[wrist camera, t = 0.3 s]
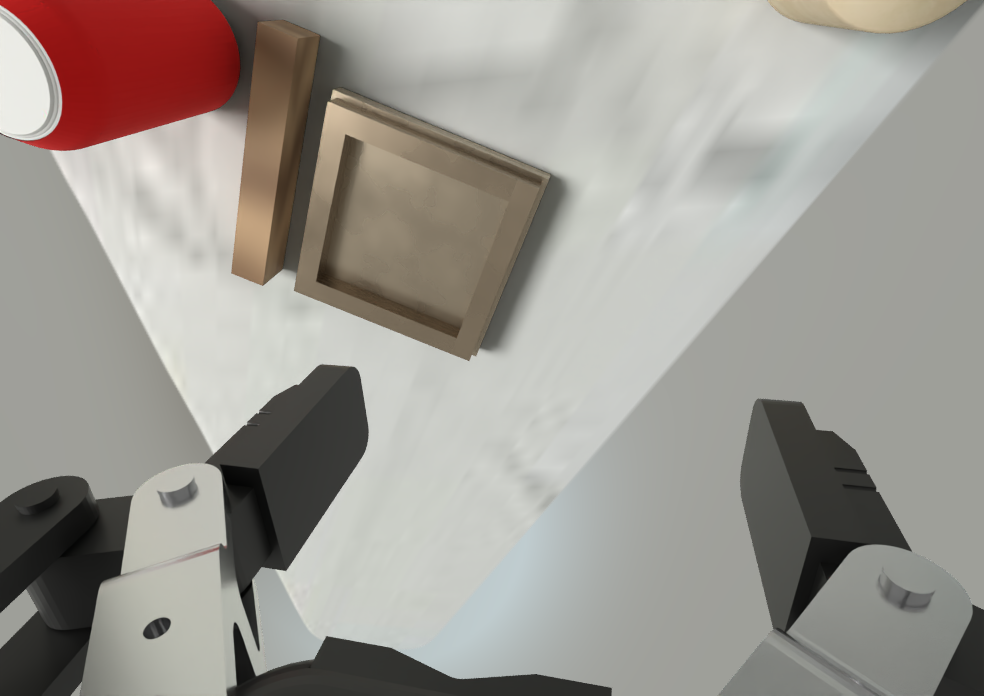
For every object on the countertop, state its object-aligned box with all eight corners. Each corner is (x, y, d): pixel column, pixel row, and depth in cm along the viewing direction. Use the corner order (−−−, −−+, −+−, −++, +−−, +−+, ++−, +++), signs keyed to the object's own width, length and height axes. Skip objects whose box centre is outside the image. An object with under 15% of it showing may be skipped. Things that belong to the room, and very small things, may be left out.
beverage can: (143, -44, 29) (-108, -65, 19) (260, 12, 29) (75, 20, 19) (137, 79, 32) (-79, 117, 22) (242, 128, 33) (76, 187, 22)
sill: (283, 19, 29) (257, 21, 27) (320, 35, 29) (297, 38, 27) (253, 257, 37) (231, 273, 35) (282, 269, 37) (262, 285, 35)
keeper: (340, 86, 30) (322, 93, 29) (550, 174, 31) (547, 185, 29) (304, 278, 37) (288, 292, 35) (479, 348, 37) (472, 366, 35)
